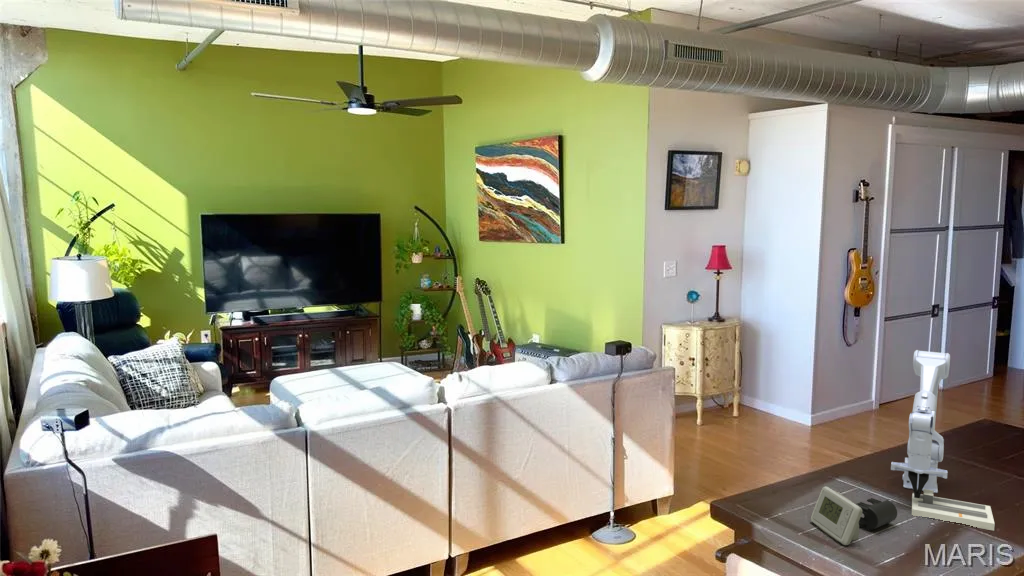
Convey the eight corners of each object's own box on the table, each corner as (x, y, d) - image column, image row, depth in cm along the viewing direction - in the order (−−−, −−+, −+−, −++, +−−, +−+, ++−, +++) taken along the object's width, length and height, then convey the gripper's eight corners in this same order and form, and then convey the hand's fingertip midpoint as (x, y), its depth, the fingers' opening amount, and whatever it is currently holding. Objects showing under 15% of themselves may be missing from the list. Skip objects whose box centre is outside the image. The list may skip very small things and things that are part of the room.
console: (911, 515, 209) (912, 505, 209) (912, 499, 221) (912, 489, 221) (994, 530, 200) (994, 520, 199) (989, 512, 212) (990, 502, 211)
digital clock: (808, 520, 206) (810, 484, 204) (840, 521, 205) (842, 485, 204) (831, 547, 189) (833, 508, 188) (866, 547, 189) (868, 508, 188)
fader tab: (923, 504, 212) (923, 493, 212) (922, 499, 216) (923, 488, 215) (932, 505, 211) (933, 495, 210) (932, 500, 214) (933, 490, 214)
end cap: (877, 535, 197) (878, 511, 196) (852, 525, 203) (854, 502, 202) (897, 526, 202) (898, 503, 201) (872, 517, 208) (874, 495, 207)
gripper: (891, 452, 213) (888, 496, 215) (948, 460, 206) (945, 506, 207) (892, 445, 219) (889, 488, 221) (948, 453, 212) (944, 498, 214)
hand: (916, 496), depth 215 cm, fingers closed
